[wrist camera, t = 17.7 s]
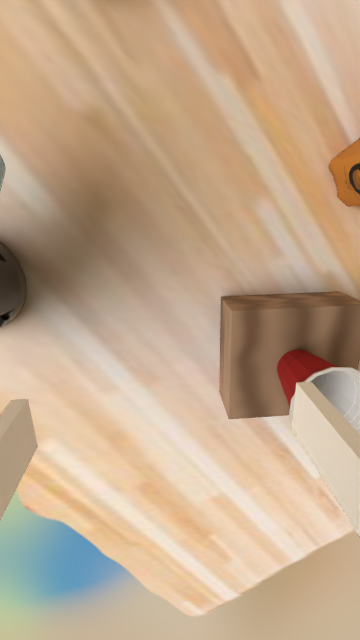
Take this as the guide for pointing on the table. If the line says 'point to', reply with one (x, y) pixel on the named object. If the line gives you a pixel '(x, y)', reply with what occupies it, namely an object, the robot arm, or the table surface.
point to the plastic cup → (322, 382)
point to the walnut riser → (280, 344)
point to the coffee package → (348, 174)
